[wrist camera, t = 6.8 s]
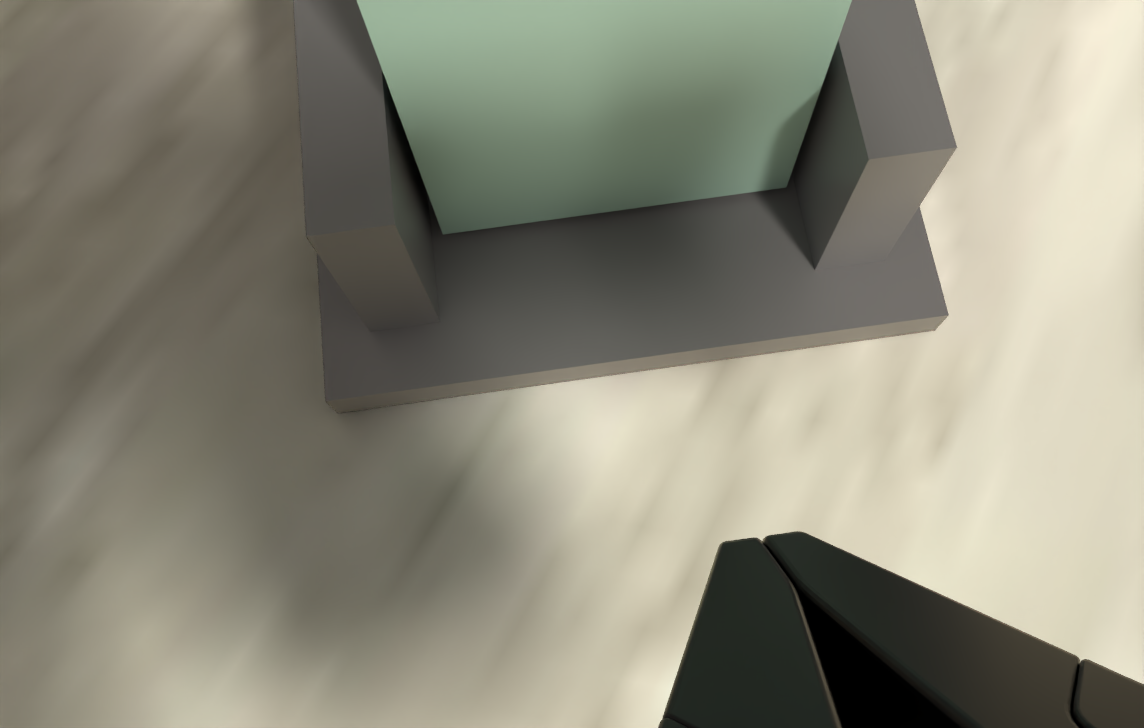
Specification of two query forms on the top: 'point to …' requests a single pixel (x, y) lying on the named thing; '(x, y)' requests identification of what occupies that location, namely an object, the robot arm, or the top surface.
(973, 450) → the top surface
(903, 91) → the switch housing
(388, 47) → the pale green tall block
